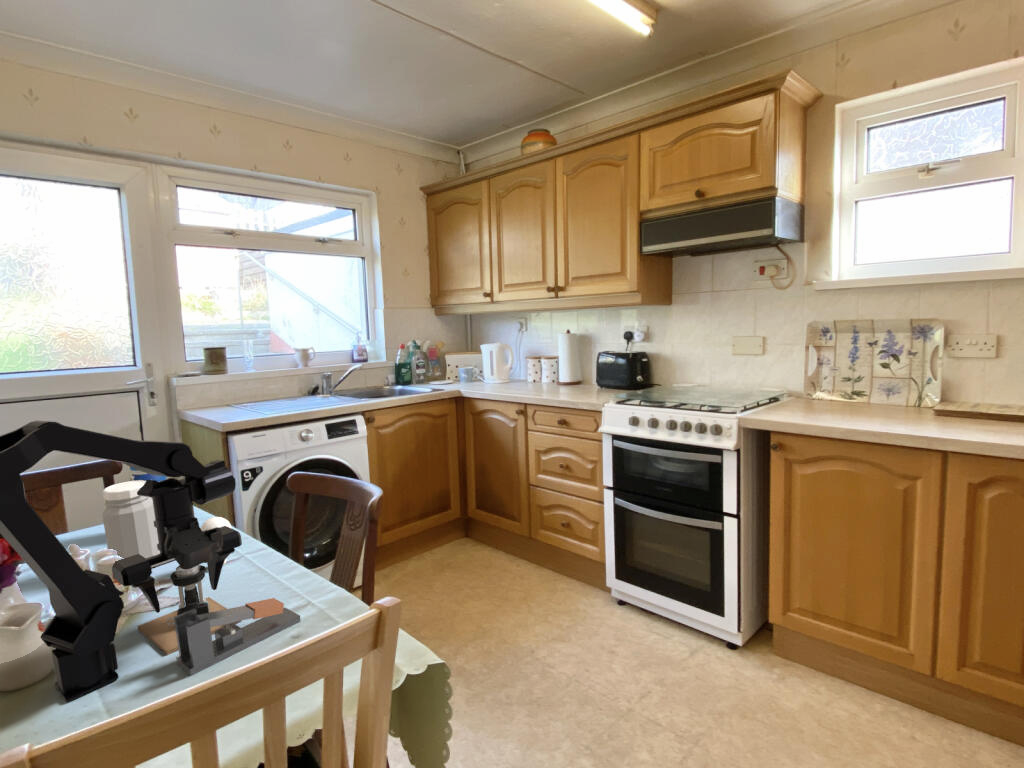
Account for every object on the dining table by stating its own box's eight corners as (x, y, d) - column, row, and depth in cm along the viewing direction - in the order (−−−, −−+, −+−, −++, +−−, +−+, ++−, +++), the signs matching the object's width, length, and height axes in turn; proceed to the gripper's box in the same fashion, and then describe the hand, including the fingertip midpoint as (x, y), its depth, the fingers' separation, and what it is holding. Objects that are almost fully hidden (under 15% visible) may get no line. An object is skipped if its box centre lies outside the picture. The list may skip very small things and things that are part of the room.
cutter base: (191, 676, 86) (184, 629, 85) (176, 663, 89) (170, 618, 88) (301, 621, 99) (296, 580, 98) (285, 612, 103) (280, 572, 102)
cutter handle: (203, 631, 88) (204, 620, 88) (193, 624, 90) (195, 613, 90) (282, 613, 98) (283, 603, 98) (272, 607, 100) (273, 598, 100)
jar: (108, 564, 128) (95, 487, 125) (158, 550, 134) (147, 476, 132) (114, 578, 120) (101, 496, 118) (167, 563, 127) (156, 484, 124)
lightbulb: (201, 575, 120) (194, 524, 118) (208, 563, 125) (201, 515, 124) (232, 570, 121) (226, 520, 120) (238, 558, 127) (232, 511, 126)
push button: (166, 634, 96) (159, 578, 95) (169, 620, 101) (162, 566, 100) (211, 623, 99) (204, 568, 98) (212, 610, 104) (205, 557, 103)
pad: (167, 655, 91) (166, 651, 91) (137, 629, 100) (137, 626, 99) (241, 620, 100) (241, 617, 100) (209, 600, 109) (208, 597, 109)
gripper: (128, 543, 85) (143, 641, 87) (251, 505, 99) (261, 590, 101) (104, 528, 92) (118, 619, 94) (222, 495, 106) (232, 574, 109)
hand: (186, 600), depth 99 cm, fingers open, 9 cm apart
